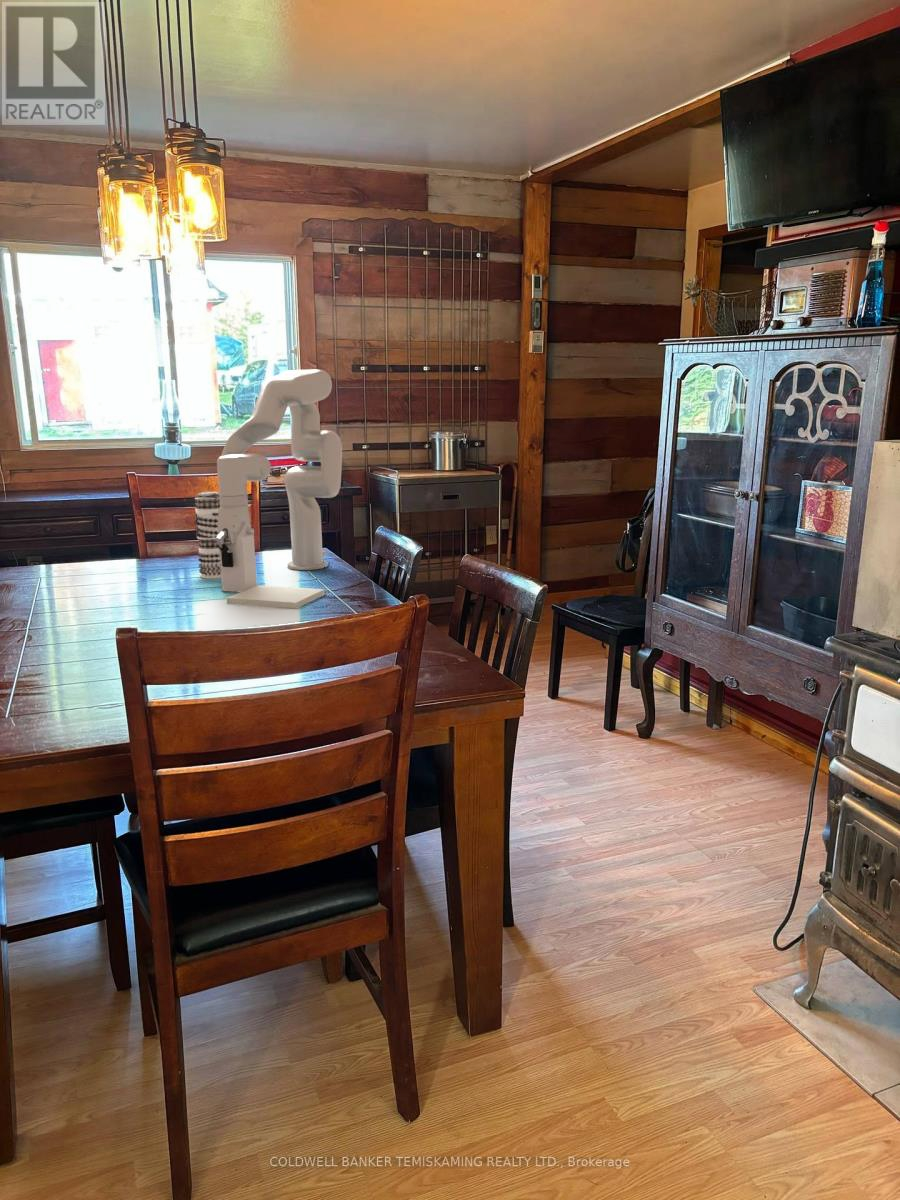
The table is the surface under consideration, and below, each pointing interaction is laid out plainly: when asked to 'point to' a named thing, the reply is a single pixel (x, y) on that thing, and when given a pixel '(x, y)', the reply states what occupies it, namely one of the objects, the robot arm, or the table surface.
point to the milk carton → (240, 564)
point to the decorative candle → (208, 533)
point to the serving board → (276, 596)
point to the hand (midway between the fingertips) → (237, 563)
